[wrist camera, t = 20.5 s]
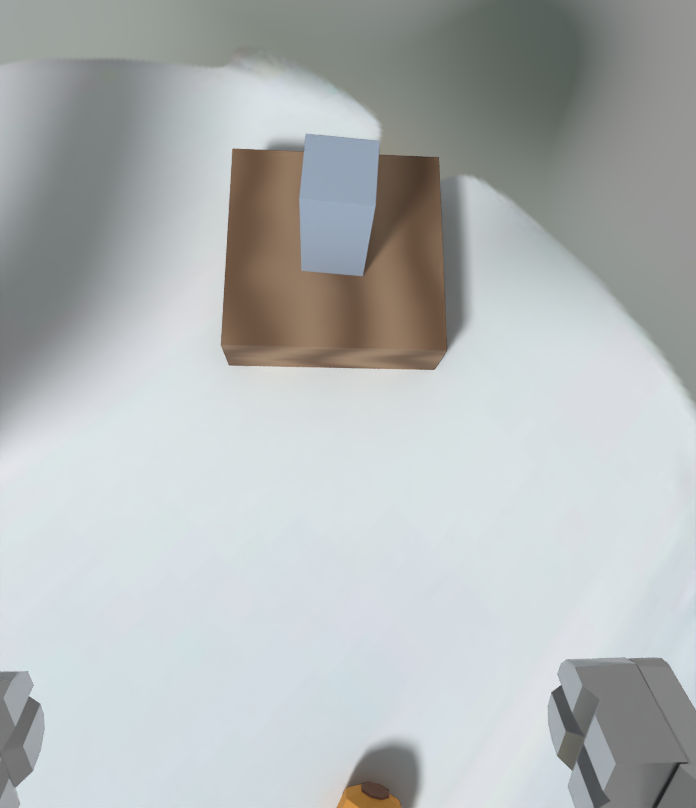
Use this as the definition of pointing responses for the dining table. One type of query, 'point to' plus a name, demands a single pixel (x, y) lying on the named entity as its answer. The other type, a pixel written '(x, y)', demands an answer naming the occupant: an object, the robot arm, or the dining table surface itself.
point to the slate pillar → (337, 203)
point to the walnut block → (333, 293)
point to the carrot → (368, 797)
